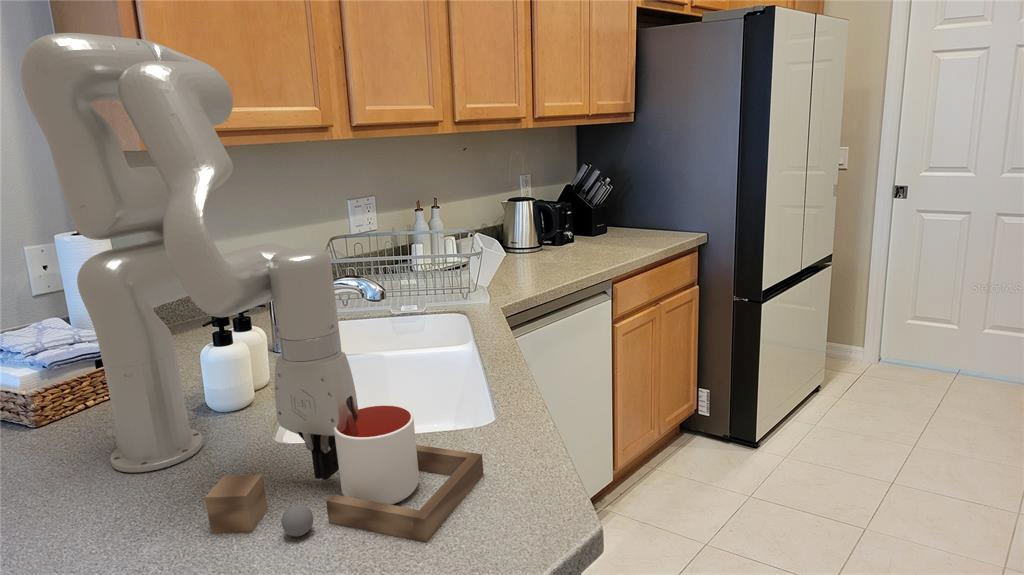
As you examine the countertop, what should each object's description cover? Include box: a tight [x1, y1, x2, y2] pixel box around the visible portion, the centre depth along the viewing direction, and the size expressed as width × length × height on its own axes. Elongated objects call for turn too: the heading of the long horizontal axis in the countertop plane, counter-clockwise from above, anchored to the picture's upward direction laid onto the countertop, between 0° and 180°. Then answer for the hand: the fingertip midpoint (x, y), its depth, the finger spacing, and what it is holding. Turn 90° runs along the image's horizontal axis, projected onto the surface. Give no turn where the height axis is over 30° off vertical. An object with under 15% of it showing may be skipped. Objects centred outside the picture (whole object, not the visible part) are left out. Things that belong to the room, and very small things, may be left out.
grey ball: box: [281, 503, 314, 537], centre depth 82 cm, size 4×4×4 cm
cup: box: [334, 404, 420, 505], centre depth 90 cm, size 10×10×10 cm
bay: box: [325, 444, 485, 543], centre depth 88 cm, size 14×16×3 cm
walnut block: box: [204, 474, 268, 535], centre depth 85 cm, size 5×5×5 cm
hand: (327, 474), depth 93 cm, fingers closed
